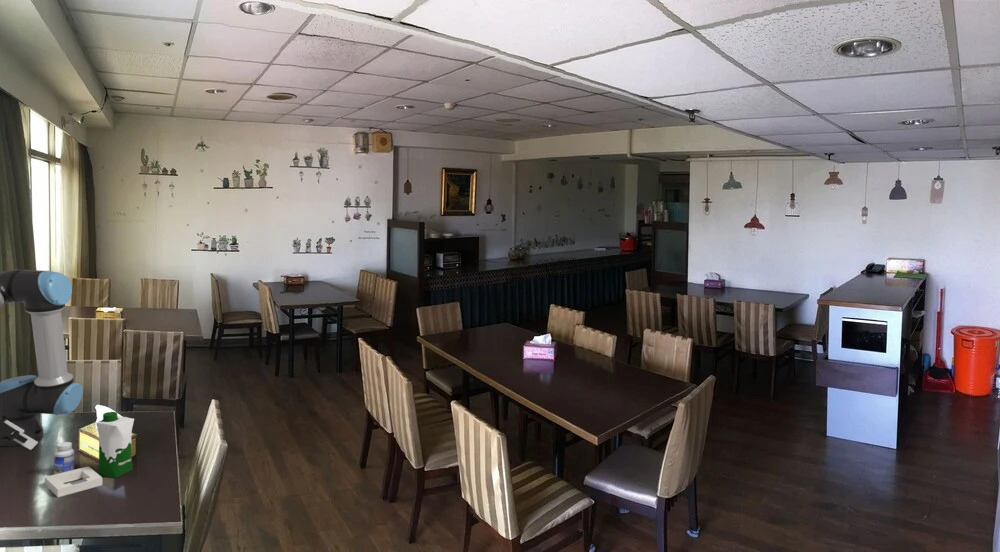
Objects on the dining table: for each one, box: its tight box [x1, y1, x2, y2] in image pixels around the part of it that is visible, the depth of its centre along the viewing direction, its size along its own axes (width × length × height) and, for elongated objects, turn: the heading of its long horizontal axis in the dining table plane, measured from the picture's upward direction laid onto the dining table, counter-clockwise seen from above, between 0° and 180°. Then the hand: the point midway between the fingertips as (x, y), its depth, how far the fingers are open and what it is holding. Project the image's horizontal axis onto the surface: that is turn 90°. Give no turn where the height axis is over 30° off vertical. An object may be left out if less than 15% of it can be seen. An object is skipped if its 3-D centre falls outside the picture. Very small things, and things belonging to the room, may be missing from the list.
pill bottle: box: [53, 441, 75, 475], centre depth 200 cm, size 5×5×10 cm
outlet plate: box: [44, 466, 103, 498], centre depth 192 cm, size 12×12×3 cm
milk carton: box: [95, 411, 135, 479], centre depth 202 cm, size 9×9×20 cm
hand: (27, 439), depth 191 cm, fingers open, 13 cm apart
